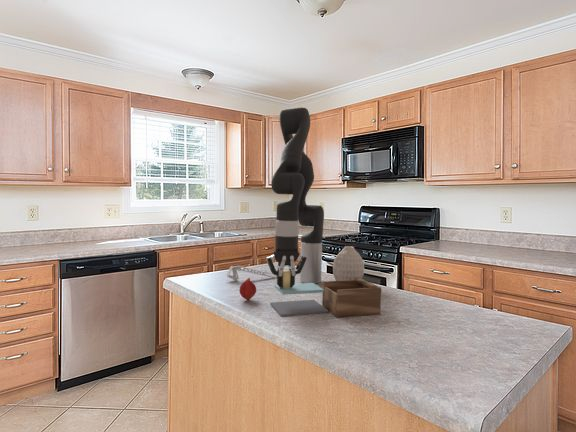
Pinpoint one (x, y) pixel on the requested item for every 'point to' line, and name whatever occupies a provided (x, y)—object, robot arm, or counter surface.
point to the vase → (348, 265)
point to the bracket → (235, 268)
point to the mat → (298, 307)
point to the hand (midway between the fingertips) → (285, 286)
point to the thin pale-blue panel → (296, 286)
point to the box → (351, 298)
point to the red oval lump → (247, 289)
